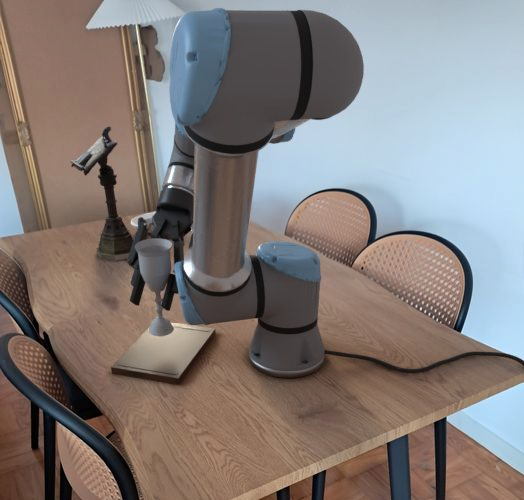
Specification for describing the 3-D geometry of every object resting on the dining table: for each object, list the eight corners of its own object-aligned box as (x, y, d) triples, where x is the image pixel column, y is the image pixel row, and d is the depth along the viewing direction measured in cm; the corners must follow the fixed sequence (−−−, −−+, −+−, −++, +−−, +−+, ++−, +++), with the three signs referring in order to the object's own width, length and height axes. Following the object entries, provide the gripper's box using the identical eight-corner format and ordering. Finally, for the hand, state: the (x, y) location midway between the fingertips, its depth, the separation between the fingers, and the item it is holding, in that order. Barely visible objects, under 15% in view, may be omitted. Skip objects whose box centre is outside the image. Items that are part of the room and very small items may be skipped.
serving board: (215, 334, 120) (215, 328, 119) (178, 385, 103) (178, 378, 102) (156, 325, 123) (156, 319, 122) (111, 373, 107) (110, 366, 106)
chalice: (170, 341, 108) (163, 254, 98) (138, 336, 109) (128, 251, 99) (183, 323, 114) (177, 240, 104) (152, 319, 115) (143, 236, 105)
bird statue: (87, 268, 151) (64, 133, 133) (76, 253, 161) (52, 125, 142) (146, 257, 158) (131, 127, 140) (131, 243, 167) (116, 120, 149)
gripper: (229, 209, 110) (201, 319, 106) (144, 199, 115) (114, 304, 110) (219, 190, 103) (189, 307, 99) (129, 180, 108) (96, 291, 103)
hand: (149, 305), depth 105 cm, fingers closed on chalice, 6 cm apart
